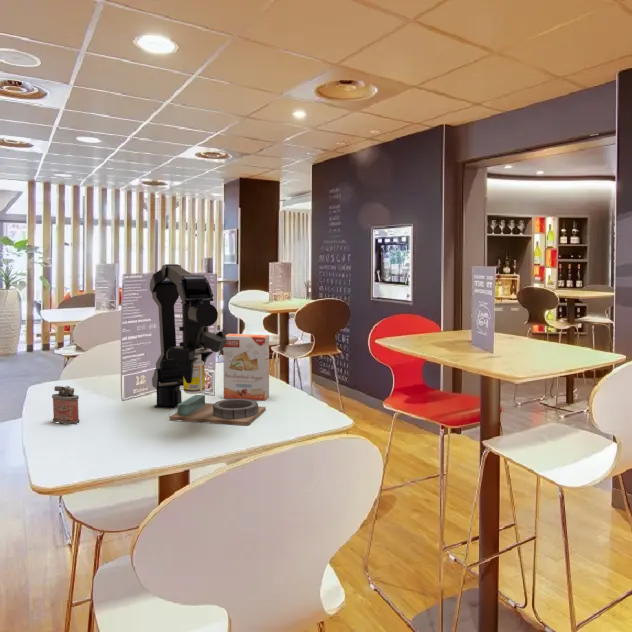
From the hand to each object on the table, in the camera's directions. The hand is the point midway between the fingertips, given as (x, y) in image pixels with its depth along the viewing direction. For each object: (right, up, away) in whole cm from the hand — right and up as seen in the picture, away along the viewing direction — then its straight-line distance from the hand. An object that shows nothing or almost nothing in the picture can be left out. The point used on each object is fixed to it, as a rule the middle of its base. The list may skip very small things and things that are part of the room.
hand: (194, 380), depth 139 cm
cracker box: (+10, -10, +32) cm, 35 cm away
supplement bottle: (0, -3, 0) cm, 3 cm away
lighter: (-36, -12, +3) cm, 38 cm away
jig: (+5, -11, +11) cm, 17 cm away
